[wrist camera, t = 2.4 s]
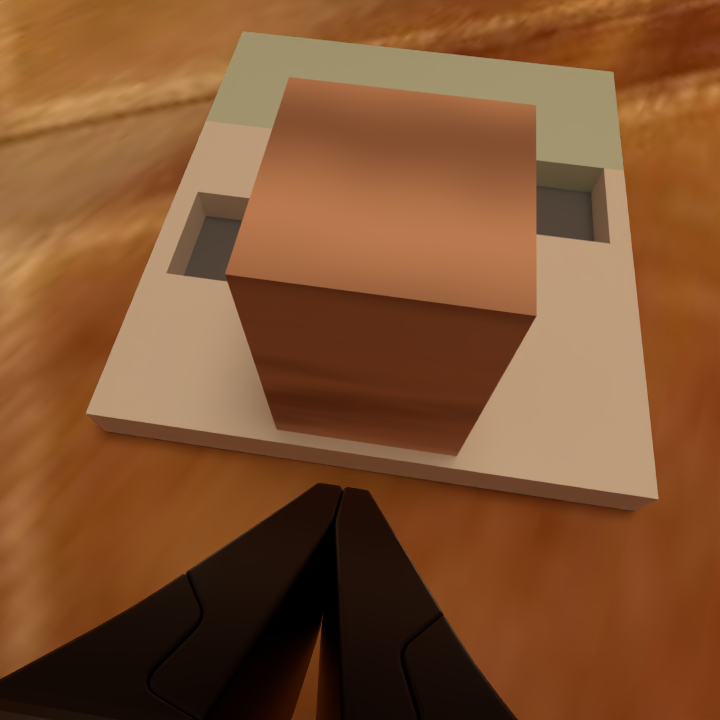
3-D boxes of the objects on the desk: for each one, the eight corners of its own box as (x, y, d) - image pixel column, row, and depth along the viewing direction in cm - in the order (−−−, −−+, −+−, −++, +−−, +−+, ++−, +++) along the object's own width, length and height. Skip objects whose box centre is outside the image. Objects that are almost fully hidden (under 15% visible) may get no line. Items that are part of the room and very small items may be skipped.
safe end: (607, 198, 30) (623, 170, 28) (214, 150, 31) (206, 120, 29) (599, 102, 34) (613, 72, 32) (248, 63, 35) (242, 31, 33)
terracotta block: (456, 456, 21) (536, 316, 12) (276, 429, 21) (224, 274, 12) (467, 304, 24) (536, 105, 15) (310, 283, 24) (289, 76, 16)
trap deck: (633, 510, 22) (658, 499, 20) (105, 431, 23) (85, 413, 21) (607, 198, 30) (623, 170, 28) (214, 150, 31) (206, 120, 29)
